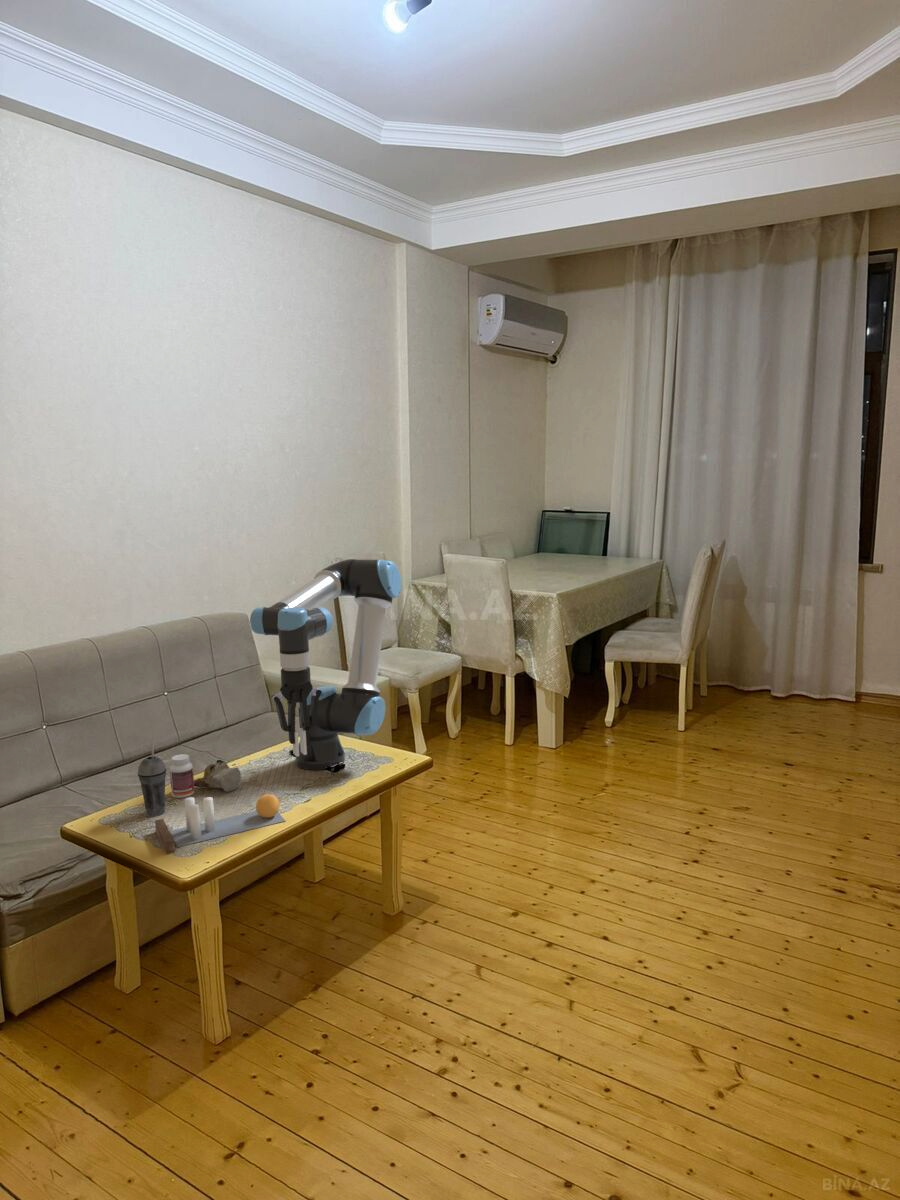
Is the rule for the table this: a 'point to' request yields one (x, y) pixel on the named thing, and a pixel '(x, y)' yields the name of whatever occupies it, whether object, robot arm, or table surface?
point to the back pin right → (188, 802)
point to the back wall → (164, 836)
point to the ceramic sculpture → (219, 777)
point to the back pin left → (195, 821)
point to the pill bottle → (181, 776)
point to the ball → (267, 806)
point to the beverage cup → (153, 784)
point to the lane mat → (226, 827)
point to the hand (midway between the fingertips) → (300, 753)
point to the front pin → (209, 814)
